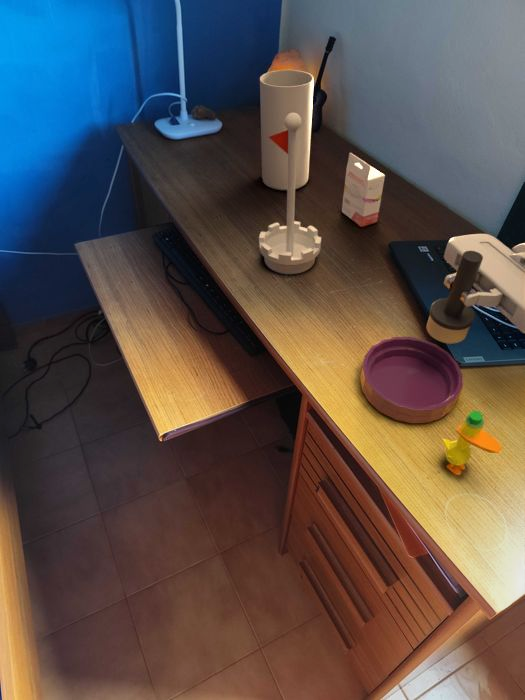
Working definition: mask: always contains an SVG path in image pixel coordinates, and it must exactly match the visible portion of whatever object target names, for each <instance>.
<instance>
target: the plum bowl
mask: <svg viewBox="0 0 525 700" xmlns="http://www.w3.org/2000/svg"><path fill="white" fill-rule="evenodd" d="M463 381H464V379H463V373H462V370H461V368H460V366H459V363H458V362H457V361H456V360H455V359H454V358H453V356H452V355H451V354H450V353H449V352H448V351H446V350H445V349H444V348H442V347H440V345H438V344H435V343H432V342H430V341H428V340H425V339H423V338H417V337H413V336H393V337H389V338H386V339H382V340H380V341H378V342H377V343H375V344H374V345H372V346H371V347H370V348H369V349H368V351H367V352H366V353H365V355H364V358H363V363H362V367H361V373H360V377H359V383H360V387H361V391H362V393H363V394H364V396H365V398H366V399H367V401H368V403H369V404H370V405H372V406H373V407H374V408H375V409H376V410H377V411H379V412H380V413H382V414H384V415H386V416H387V417H390V418H391V419H394V420H395V421H400V422H405V423H409V424H427V423H431V422H434V421H437V420H440V419H442V418H444V417H445V416H446V415H447V414H448V413H450V412H451V411H452V410H453V408H454V406H455V405H456V404H455V403H456V401H457V399H458V398H459V395H460V393H461V391H462V390H463Z"/></svg>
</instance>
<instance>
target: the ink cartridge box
mask: <svg viewBox="0 0 525 700" xmlns="http://www.w3.org/2000/svg"><path fill="white" fill-rule="evenodd" d="M385 178H386V175H385V174H384V173H382V172H380V171H379V170H377V169H376V168H375V167H373V166H371V165H370V164H368V163H367V162H366V161H365V160H362V159H361V158H359V157H358V156H357V155H355V154H353V153H352V152H349V154H348V159H347V165H346V170H345V179H344V186H343V187H344V188H343V197H342V205H341V206H342V207H341V212H342V214H344V215H345V216H346V217H348V218H349V219H350V220H352V221H353V222H354V223H356V225H358V226H359V227H361V228H363V227H366V226H369V225H372V224H375V223H378V219H379V213H380V208H381V202H382V195H383V189H384V183H385Z"/></svg>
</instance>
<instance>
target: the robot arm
mask: <svg viewBox="0 0 525 700" xmlns="http://www.w3.org/2000/svg"><path fill="white" fill-rule="evenodd" d="M466 251H476V252H478V253H480V254H481V255H482V256H483V260H482V262H481V265H480V268H479V270H478V273H477V276H476V278H475V281H474V283H473V286H472V287H473V288H472V289H471V290H469V291H464V292H463V293H462V295H461V298H460V301H461V302H462V303H463V304H464V305H465V306H466V307H468V306H470V307H472V306H479V307H485V308H486V307H487V308H493V307H494V308H495V309H496V310H497V311H499V312H500V313H501V314H502V316H504V317H505V318H506V319H507V320H509V321H510V322H511V324H513V325H514V326H515V327H516V328H517V329H518V330H519V331H520V332H521V333H523V334H525V242H523V243H519V244H517V245H515V246H513V247H512V248H510V247H508V246H507V245H505V244H504V243H503V242H502V241H501V240H500V239H498V238H496V237H495V236H493V235H491V234H488V233H473V234H465V235H458V236H453V237H451V238H450V239H449V240H448V242H447V244H446V247H445V250H444V254H443V259H444V260H445V262H447V263H448V264H449V265H450V266H451V267H452V268H453V269H454V270H455V271H456V272H454V273H450V274H447V275H446V276H445V277H444V281H443V285H444V286H445V287H446V288H447V289H448V290H449V291H450V290H451V287H452V284H453V281H454V279H455V276H456V273H457V270H458V267H459V264H460V261H461V258H462V255H463V253H464V252H466ZM474 288H475V289H474ZM476 290H477V291H476Z"/></svg>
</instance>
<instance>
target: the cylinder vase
mask: <svg viewBox="0 0 525 700" xmlns="http://www.w3.org/2000/svg"><path fill="white" fill-rule="evenodd" d="M314 79H315V77H314V76H313V74H311V73H310V72H307V71H303V70H297V69H277V70H272V71H268V72H266V73H263V74H262V75H261V76H260V77H259V94H260V95H259V100H260V101H259V103H260V104H259V105H260V141H261V142H260V145H261V146H260V148H261V151H260V152H261V179H263V180H262V182H263V183H264V185H265V186H266V187H269V188H270V189H273V190H277V191H287V180H288V154H287V153H286V152H285V151H284V150H282V149H281V148H280V147H279V146H278V145H277V144H276V143H274V142H273V141H272V140H271V139H270V138H269V137H270V136H272V135H275V134H278V133H281V132H283V131H286V130H288V129H287V128H286V127H285V118H286V116H287V115H288V114H290V113H297V114H298V115H299V116H300V118H301V126H300V128H299V129H298V130H297V146H296V178H295V190H297V189H300V188H302V187H304V186H305V185H306V184H307V182H308V180H309V176H310V175H309V173H310V156H311V155H310V154H311V139H312V137H311V136H312V119H313V100H314V98H313V97H314V81H315V80H314Z"/></svg>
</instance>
